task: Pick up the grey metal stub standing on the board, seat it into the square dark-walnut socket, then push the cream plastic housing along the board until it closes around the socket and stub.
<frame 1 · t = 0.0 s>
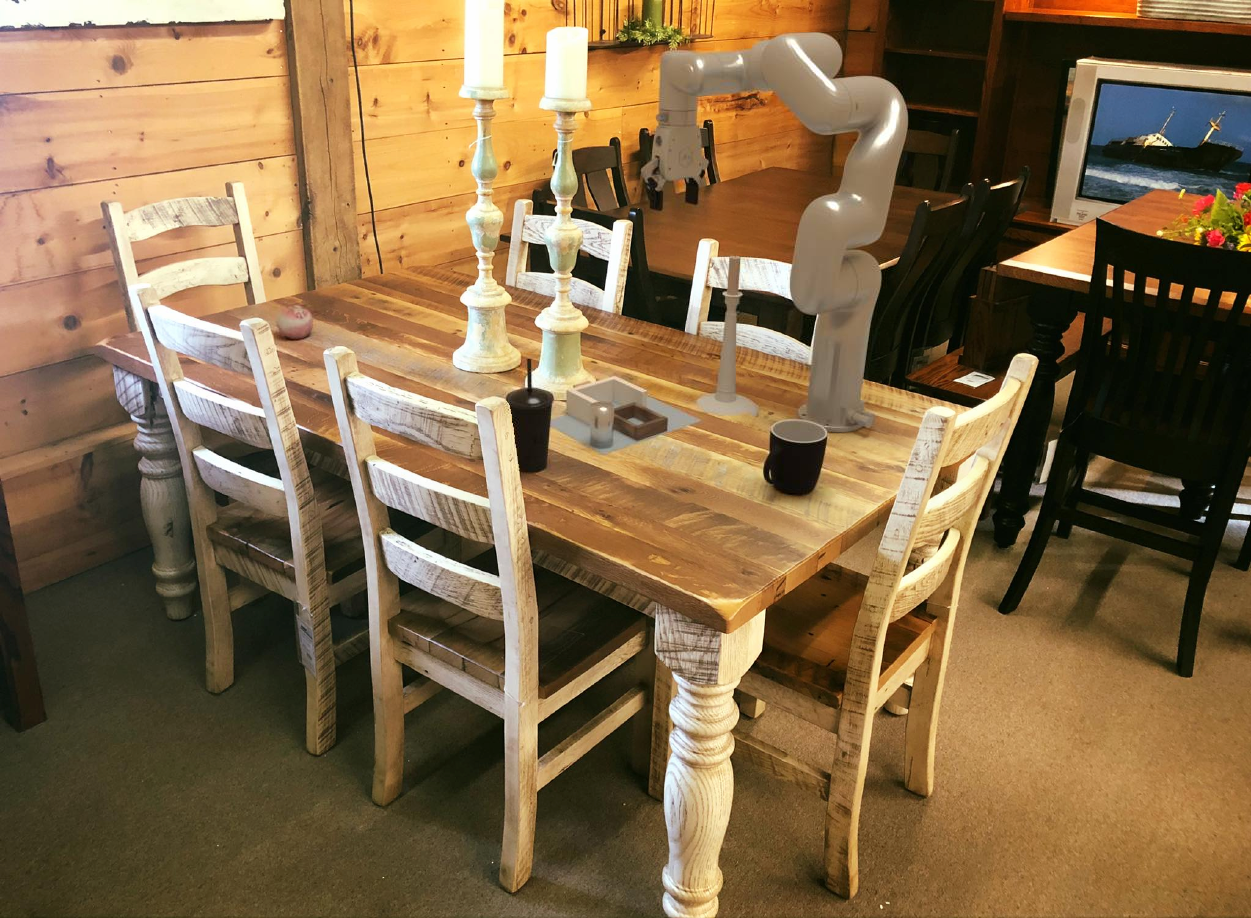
hand: (673, 206, 213), 31 cm above the table, fingers open, 9 cm apart
candlestick: (724, 412, 199), on the table
housing: (601, 399, 193), point 4 cm above the table, slide at 6.0 cm, touching board
mug: (787, 491, 170), on the table
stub: (601, 443, 181), point 1 cm above the table, touching board
apple: (297, 337, 231), on the table
drinking cup: (531, 474, 173), on the table
board: (622, 428, 190), on the table
socket: (635, 427, 187), resting on board
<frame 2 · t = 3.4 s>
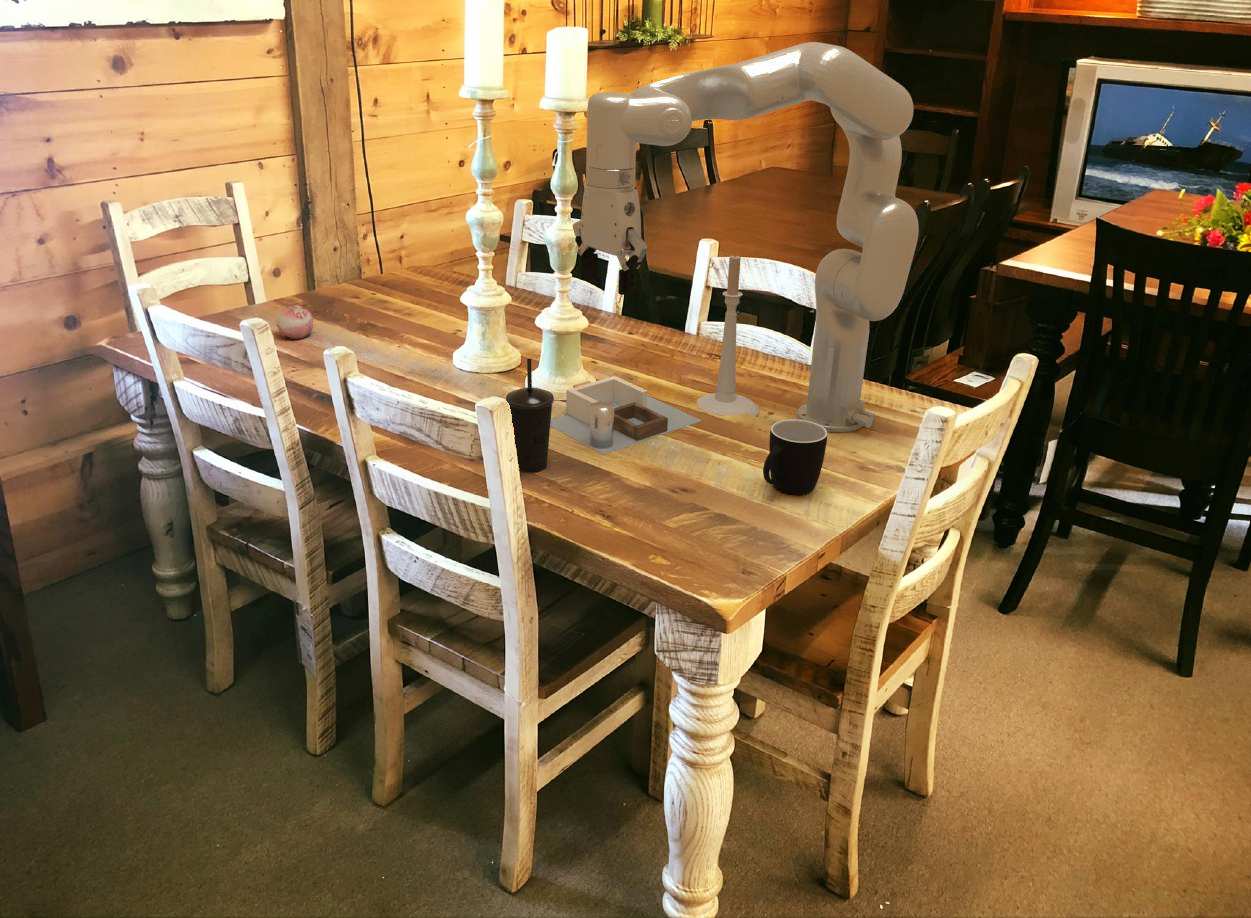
hand: (607, 286, 170), 29 cm above the table, fingers open, 9 cm apart
nothing on the table moved.
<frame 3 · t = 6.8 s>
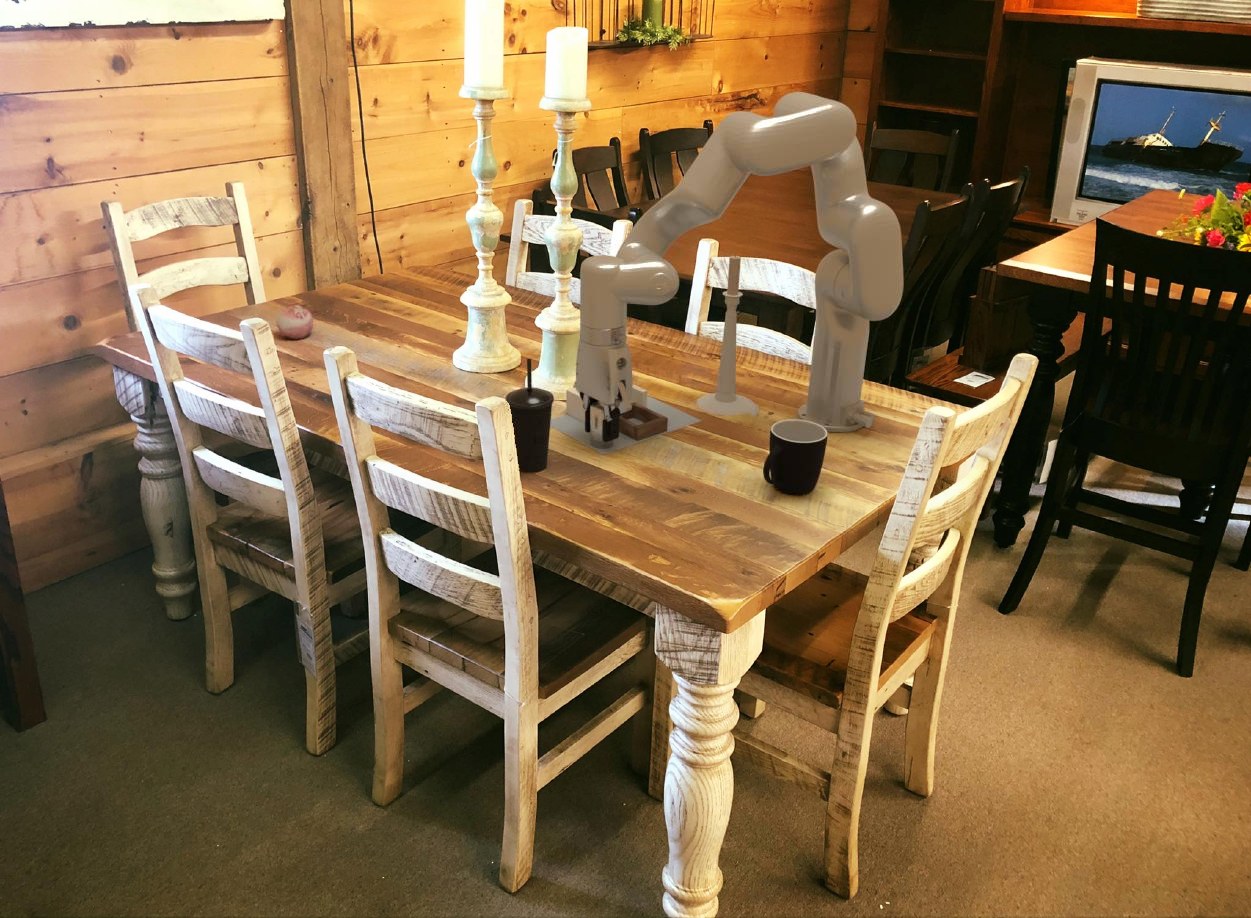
hand: (601, 434, 180), 3 cm above the table, fingers closed on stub, 4 cm apart
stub: (601, 443, 181), point 1 cm above the table, touching board, gripper
everything else where it was.
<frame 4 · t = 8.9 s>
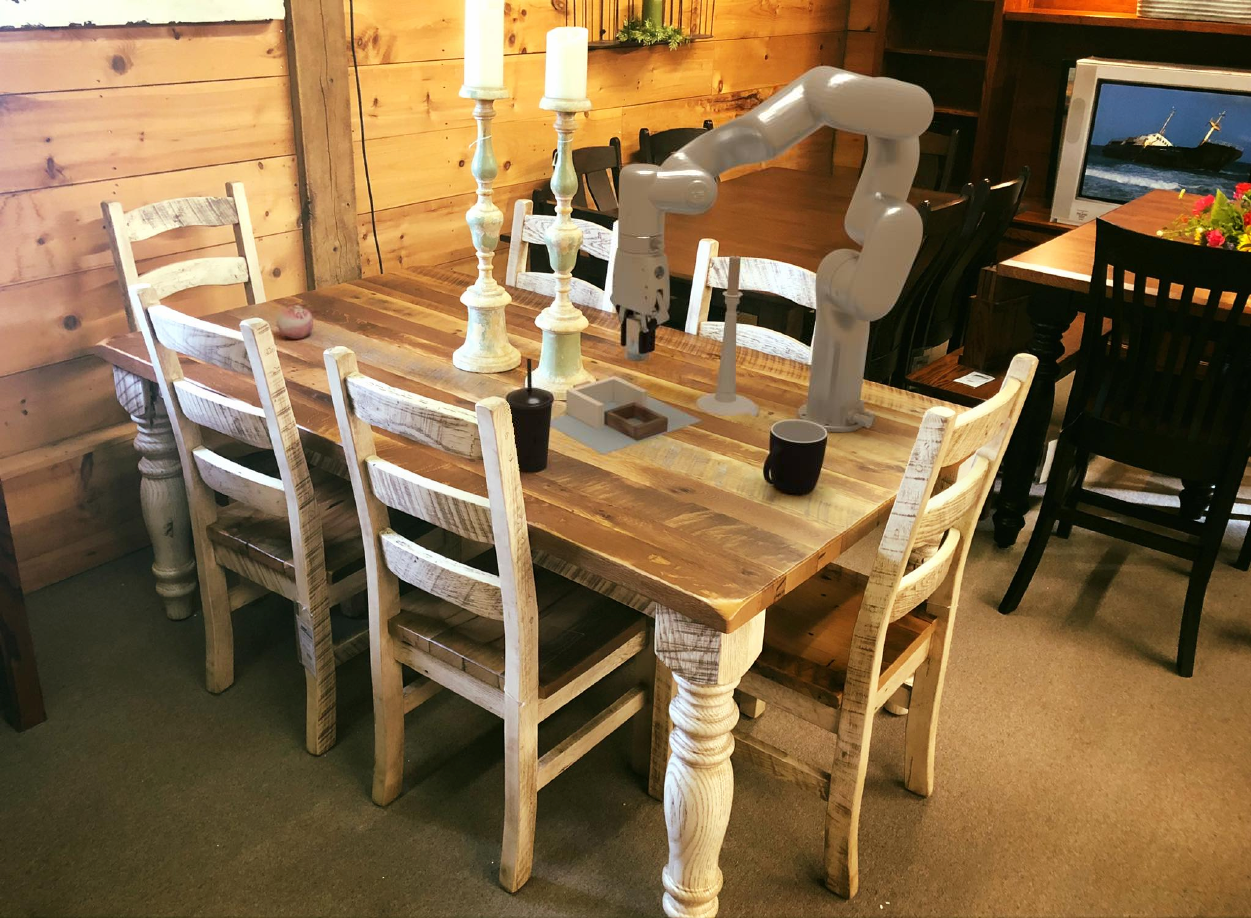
hand: (637, 347, 181), 17 cm above the table, fingers closed on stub, 4 cm apart
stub: (637, 357, 181), point 15 cm above the table, touching gripper
everything else where it was.
when the fingers open (4 cm above the table, at t = 11.4 s): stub stays where it is, resting on board.
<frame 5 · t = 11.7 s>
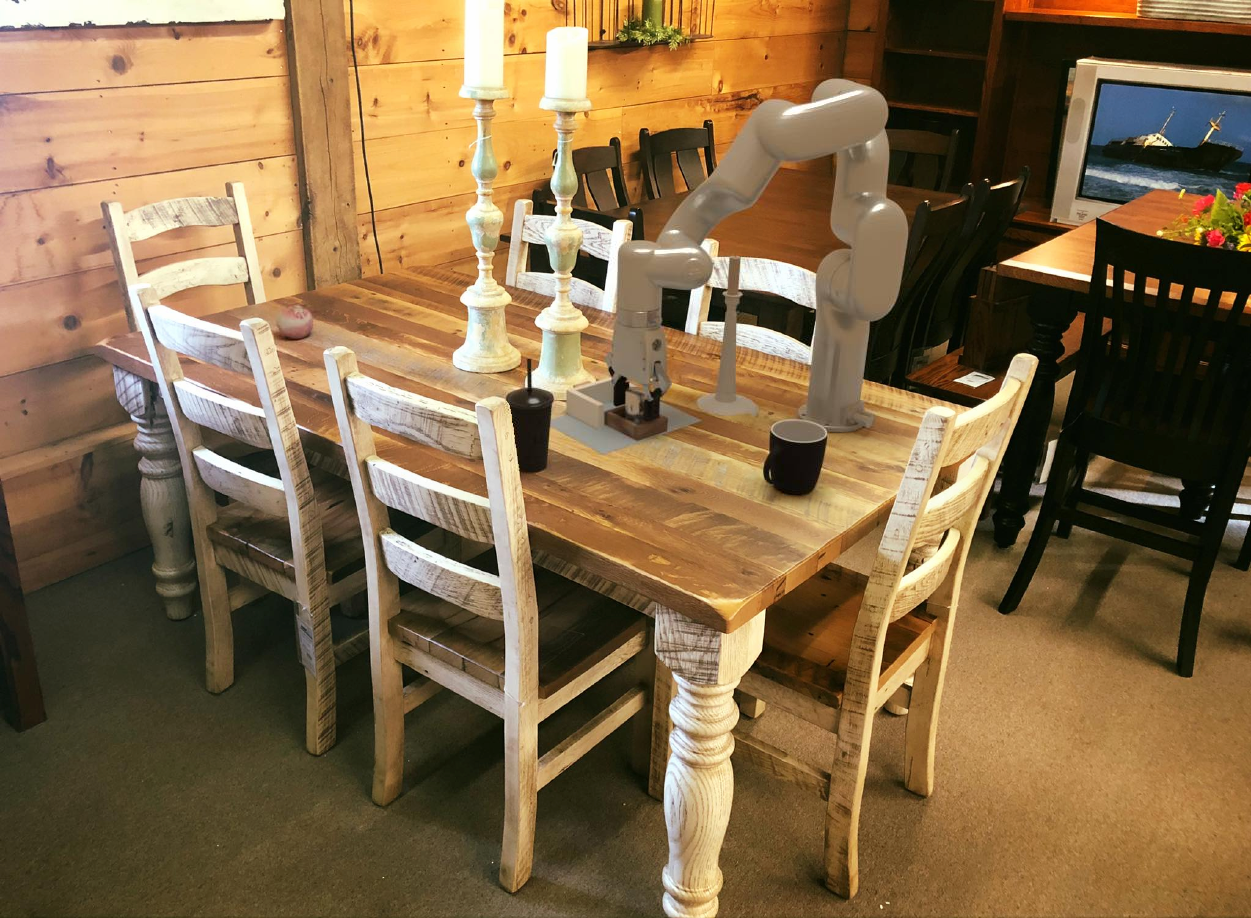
hand: (636, 411, 186), 5 cm above the table, fingers open, 7 cm apart
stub: (635, 427, 187), point 2 cm above the table, touching board
everything else where it was.
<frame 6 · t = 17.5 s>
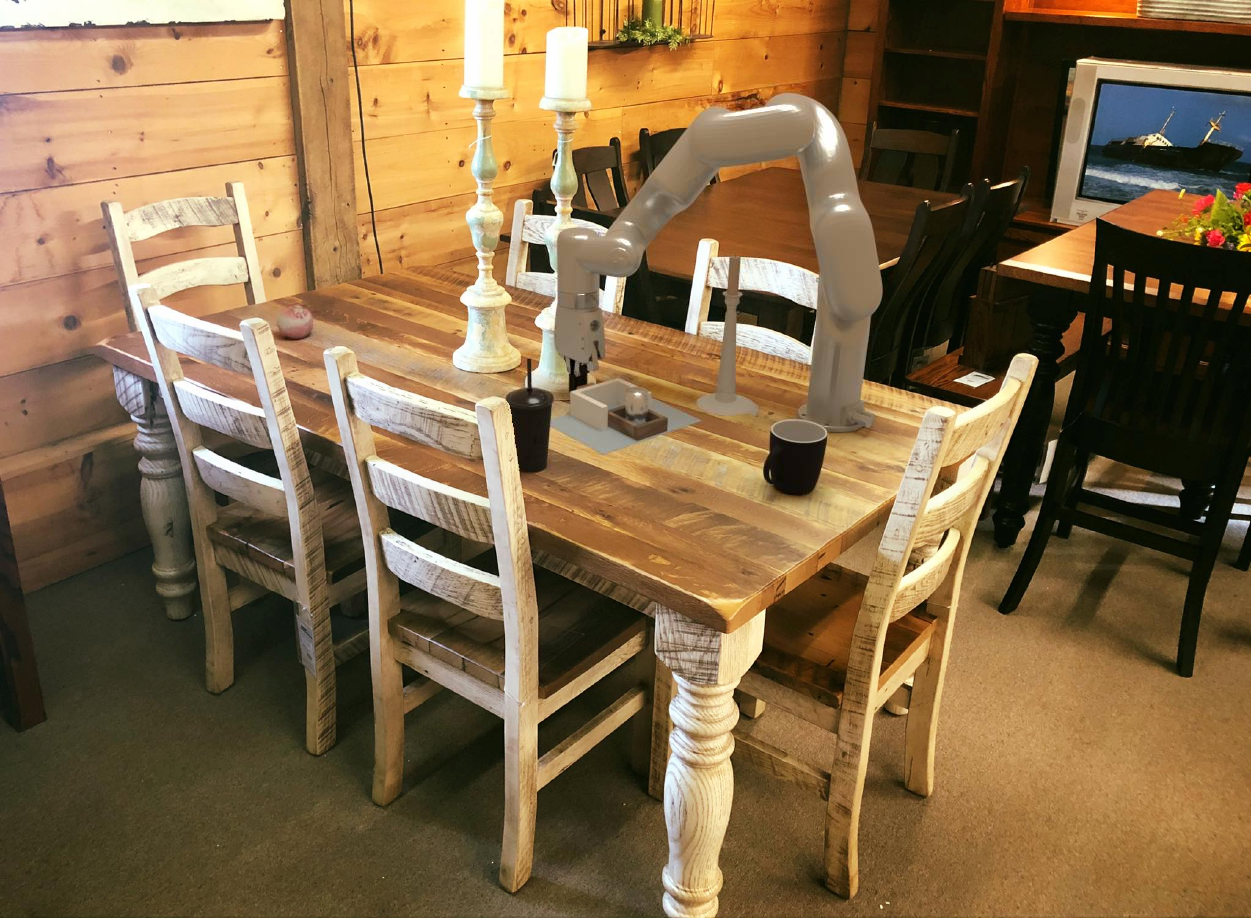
hand: (578, 392, 198), 3 cm above the table, fingers closed
housing: (605, 401, 192), point 4 cm above the table, slide at 4.9 cm, touching board, gripper
everything else where it was.
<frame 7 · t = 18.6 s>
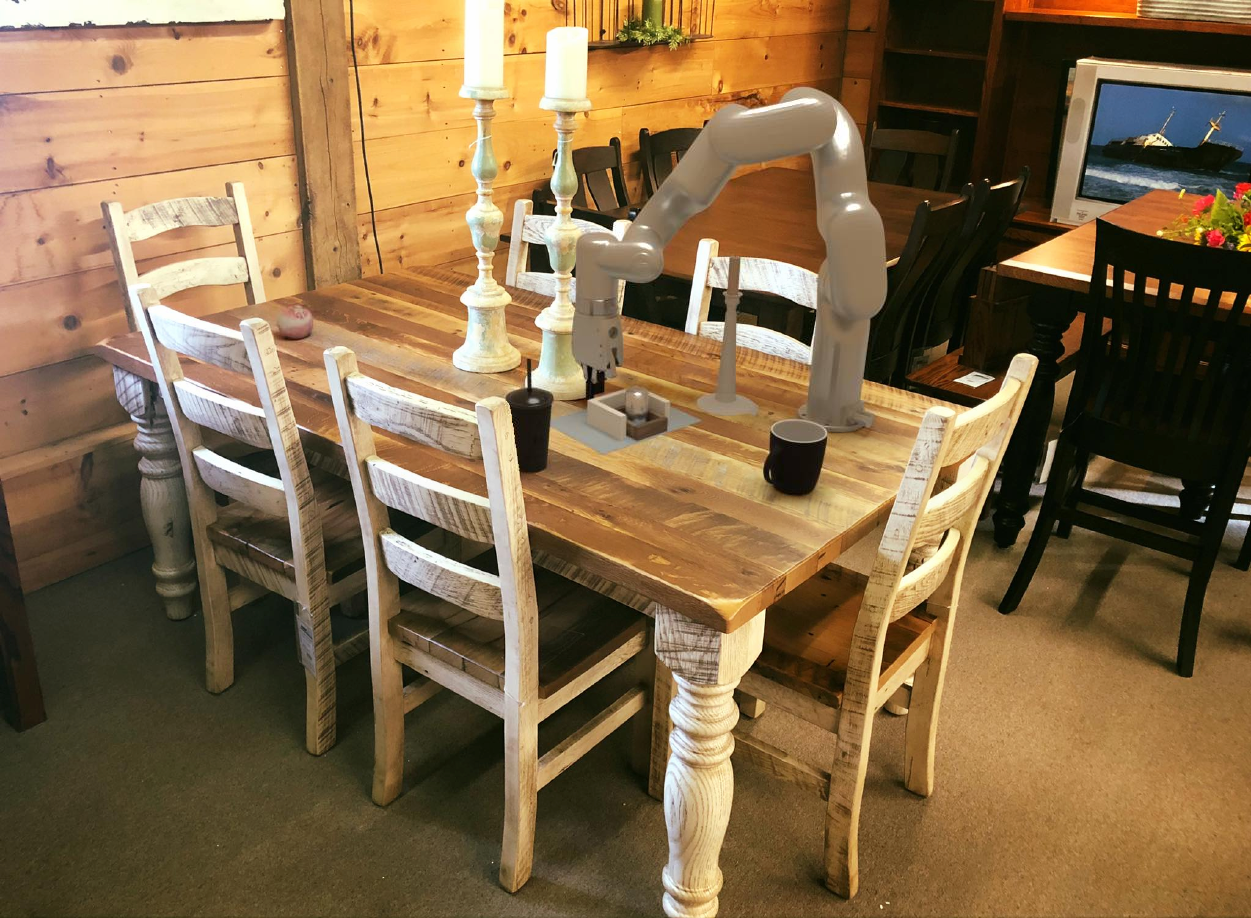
hand: (594, 400, 194), 3 cm above the table, fingers closed
housing: (623, 409, 189), point 4 cm above the table, slide at -0.1 cm, touching board, gripper
everything else where it was.
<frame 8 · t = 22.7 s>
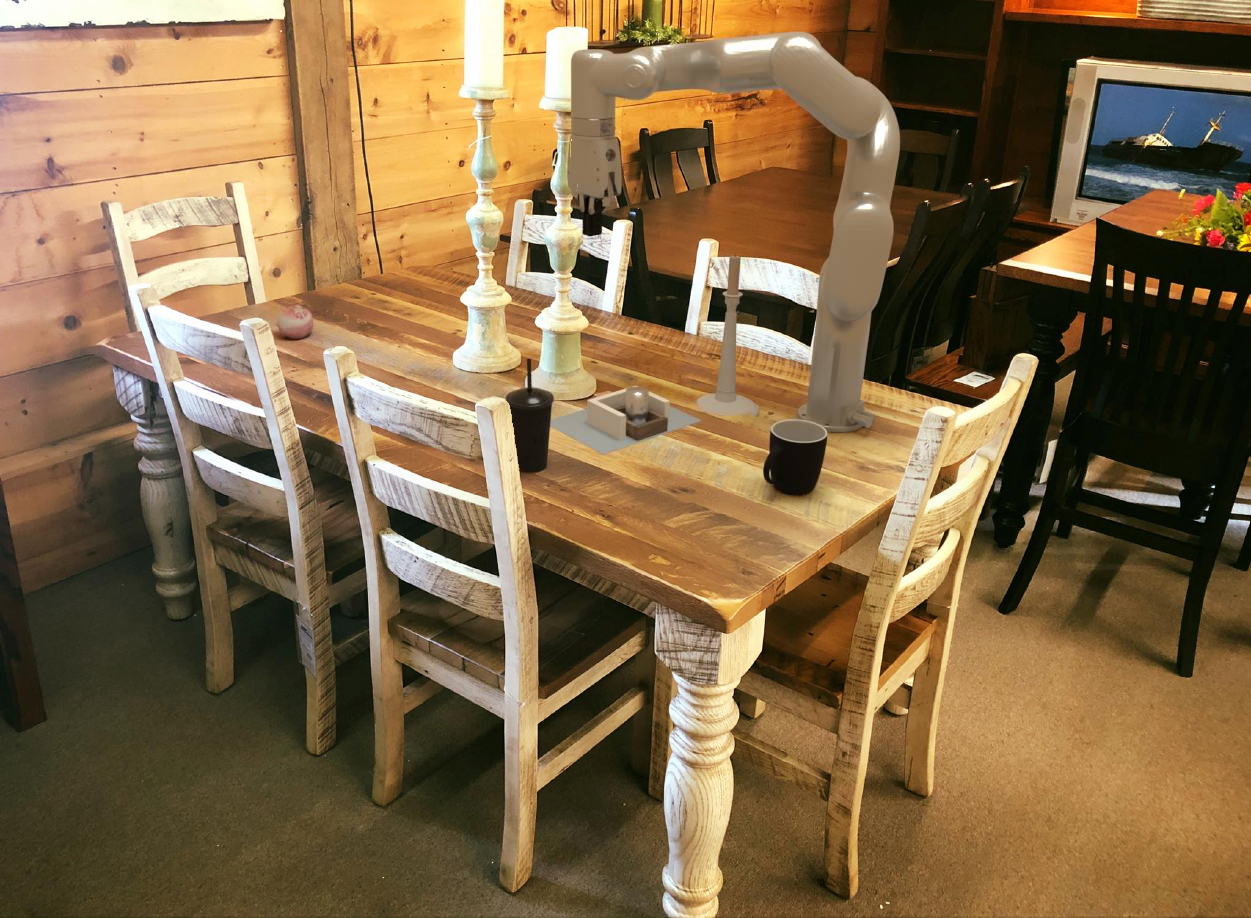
hand: (592, 234, 187), 32 cm above the table, fingers closed
housing: (622, 409, 189), point 4 cm above the table, slide at 0.0 cm, touching board
everything else where it was.
at the end: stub 0.0 cm off-centre on the socket, point 0.0 cm above the socket's base; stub tilted 0°; housing slide at 0.0 cm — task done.
